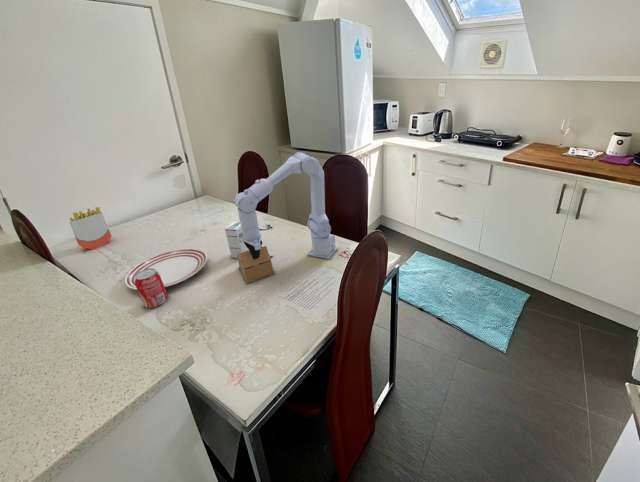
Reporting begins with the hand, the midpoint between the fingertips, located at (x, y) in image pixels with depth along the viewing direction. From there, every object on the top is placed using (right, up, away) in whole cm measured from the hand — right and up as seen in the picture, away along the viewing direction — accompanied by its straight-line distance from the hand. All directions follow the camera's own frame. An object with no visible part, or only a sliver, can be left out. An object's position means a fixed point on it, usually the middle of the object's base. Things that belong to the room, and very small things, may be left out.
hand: (256, 257), depth 116 cm
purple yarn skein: (-1, -7, +5) cm, 8 cm away
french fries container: (-83, +1, +26) cm, 87 cm away
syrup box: (-13, -2, +18) cm, 22 cm away
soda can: (-31, -14, -9) cm, 35 cm away
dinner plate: (-36, -7, +6) cm, 37 cm away
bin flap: (-1, 0, +1) cm, 1 cm away
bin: (-3, -6, +7) cm, 10 cm away
